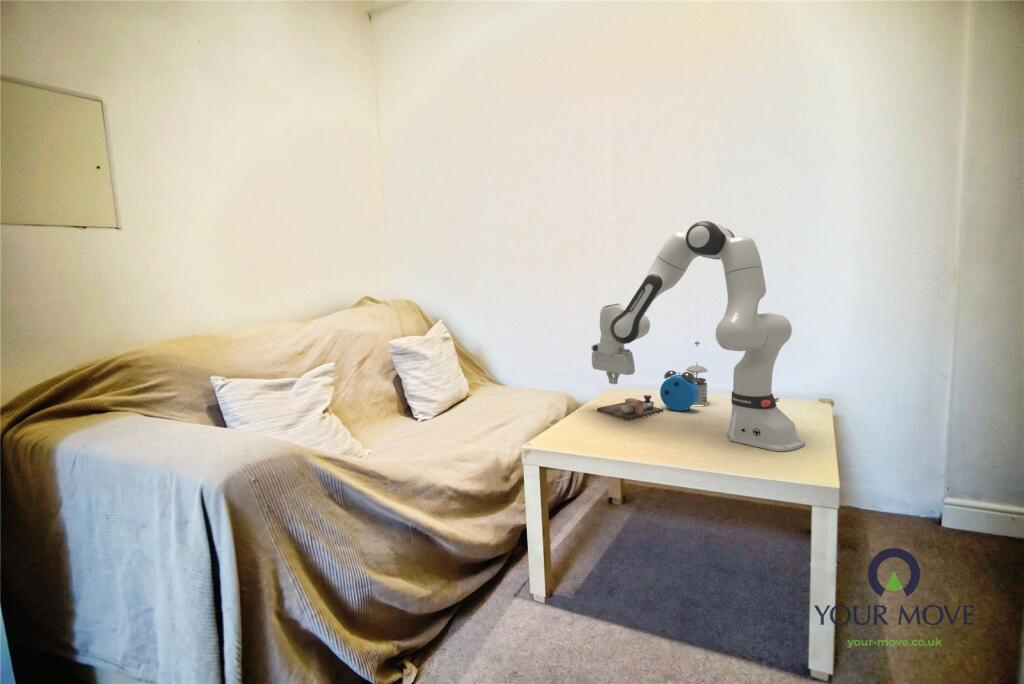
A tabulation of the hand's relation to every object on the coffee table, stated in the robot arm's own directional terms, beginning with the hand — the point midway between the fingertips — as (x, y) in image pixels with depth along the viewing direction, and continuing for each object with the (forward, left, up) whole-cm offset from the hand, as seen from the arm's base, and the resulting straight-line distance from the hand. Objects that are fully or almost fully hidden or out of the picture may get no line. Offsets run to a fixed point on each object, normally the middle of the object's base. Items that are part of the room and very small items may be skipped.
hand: (613, 383), depth 200 cm
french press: (-9, -35, -12) cm, 38 cm away
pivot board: (-2, -6, -11) cm, 13 cm away
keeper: (-7, -4, -10) cm, 13 cm away
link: (-6, -6, -10) cm, 13 cm away
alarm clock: (-12, -22, -12) cm, 28 cm away
